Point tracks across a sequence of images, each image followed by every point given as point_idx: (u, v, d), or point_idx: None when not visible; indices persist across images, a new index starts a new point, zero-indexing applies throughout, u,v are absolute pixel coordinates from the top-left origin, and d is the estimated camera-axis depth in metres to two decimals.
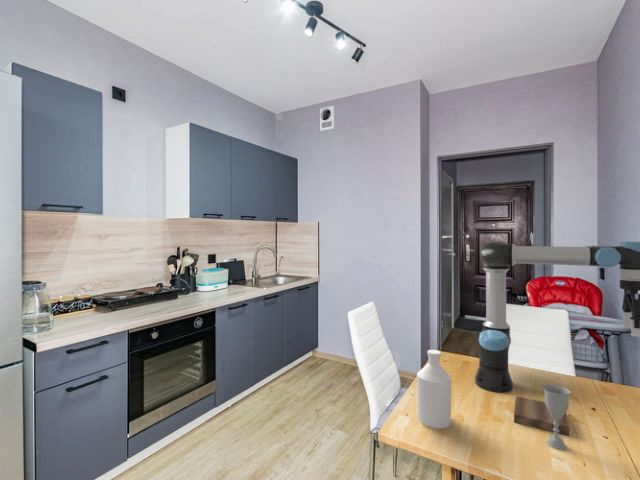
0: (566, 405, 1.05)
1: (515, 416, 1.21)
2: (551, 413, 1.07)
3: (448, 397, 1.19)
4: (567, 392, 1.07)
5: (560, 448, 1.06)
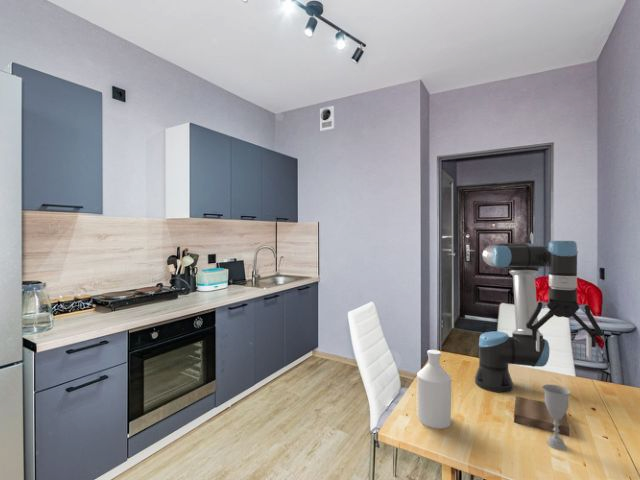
0: (566, 405, 1.05)
1: (515, 416, 1.21)
2: (551, 413, 1.07)
3: (448, 397, 1.19)
4: (567, 392, 1.07)
5: (560, 448, 1.06)
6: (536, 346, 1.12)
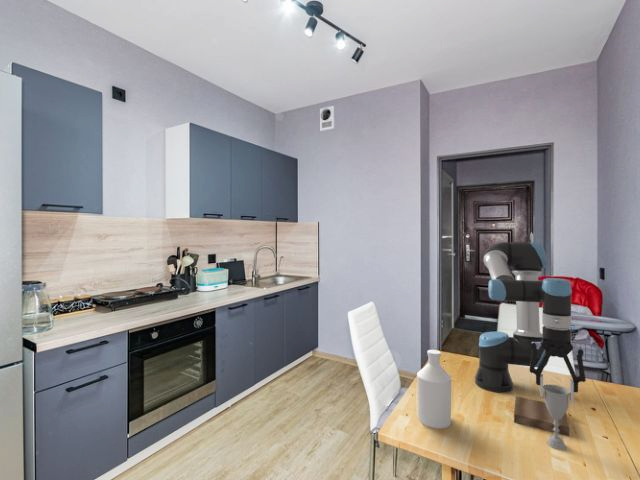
0: (566, 405, 1.05)
1: (515, 416, 1.21)
2: (551, 413, 1.07)
3: (448, 397, 1.19)
4: (567, 392, 1.07)
5: (560, 448, 1.06)
6: (540, 391, 1.10)
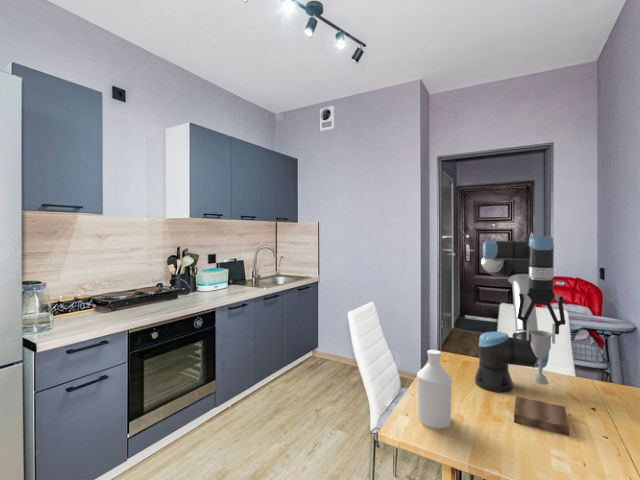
0: (549, 345, 1.21)
1: (515, 416, 1.21)
2: (536, 353, 1.23)
3: (448, 397, 1.19)
4: (550, 335, 1.22)
5: (543, 383, 1.21)
6: (526, 335, 1.25)
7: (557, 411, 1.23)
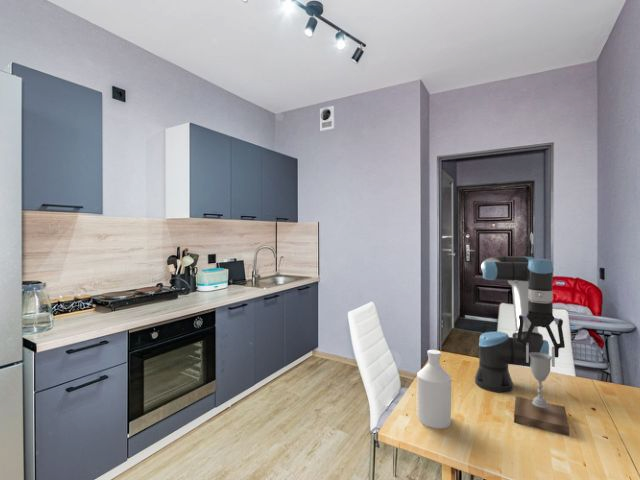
0: (548, 368, 1.21)
1: (515, 416, 1.21)
2: (535, 376, 1.23)
3: (448, 397, 1.19)
4: (549, 358, 1.23)
5: (543, 406, 1.21)
6: (526, 358, 1.25)
7: (557, 411, 1.23)
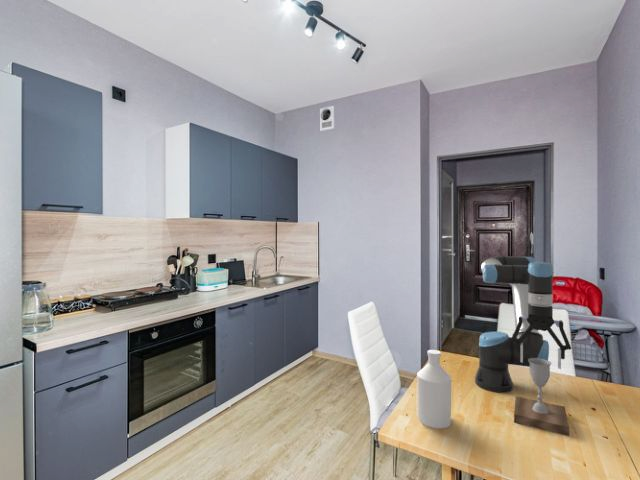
0: (548, 374, 1.21)
1: (515, 416, 1.21)
2: (535, 382, 1.23)
3: (448, 397, 1.19)
4: (549, 363, 1.23)
5: (543, 412, 1.21)
6: None
7: (557, 411, 1.23)
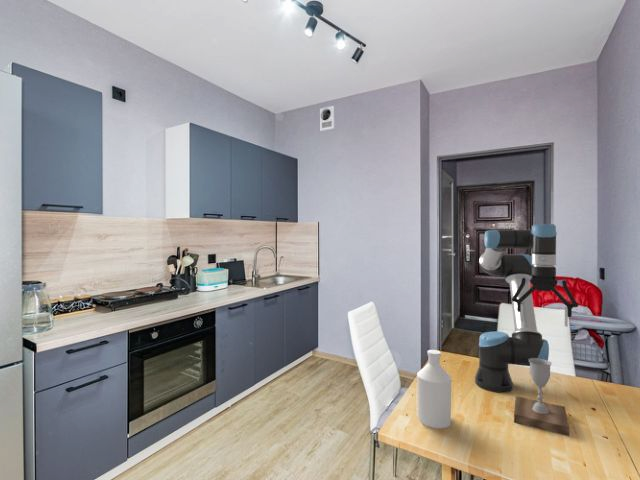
0: (548, 375, 1.21)
1: (515, 416, 1.21)
2: (535, 382, 1.23)
3: (448, 397, 1.19)
4: (549, 364, 1.23)
5: (543, 412, 1.21)
6: (520, 317, 1.28)
7: (557, 411, 1.23)
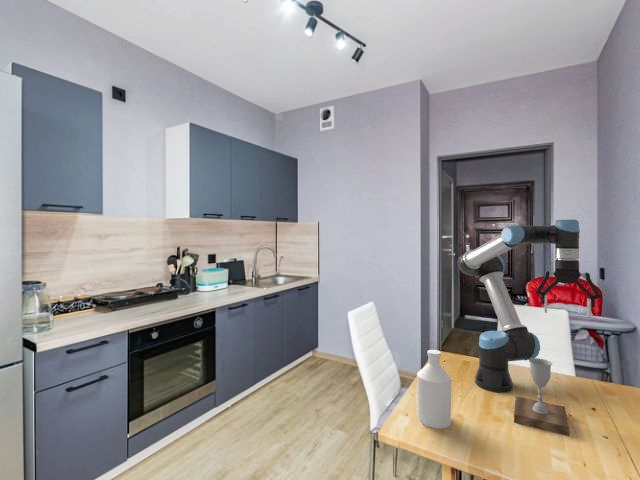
0: (548, 375, 1.21)
1: (515, 416, 1.21)
2: (535, 382, 1.23)
3: (448, 397, 1.19)
4: (549, 364, 1.23)
5: (543, 412, 1.21)
6: (544, 308, 1.34)
7: (557, 411, 1.23)
